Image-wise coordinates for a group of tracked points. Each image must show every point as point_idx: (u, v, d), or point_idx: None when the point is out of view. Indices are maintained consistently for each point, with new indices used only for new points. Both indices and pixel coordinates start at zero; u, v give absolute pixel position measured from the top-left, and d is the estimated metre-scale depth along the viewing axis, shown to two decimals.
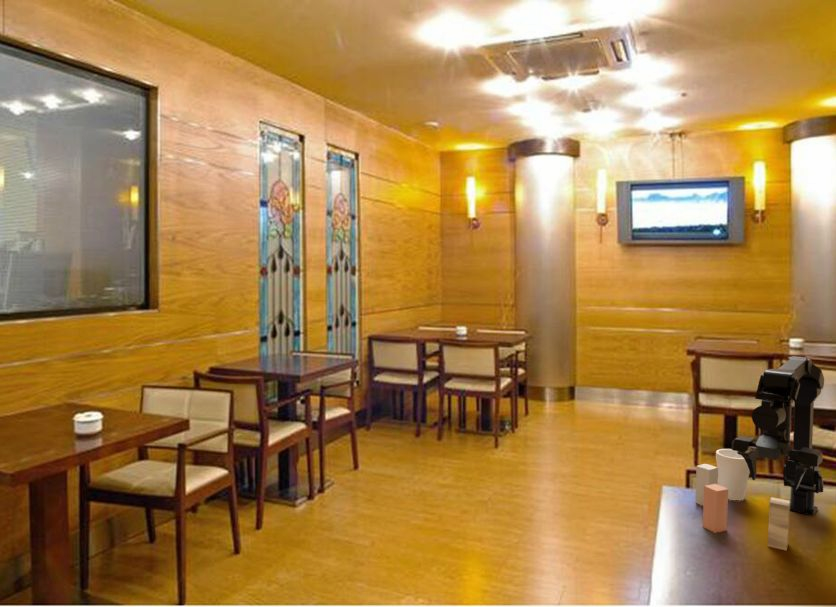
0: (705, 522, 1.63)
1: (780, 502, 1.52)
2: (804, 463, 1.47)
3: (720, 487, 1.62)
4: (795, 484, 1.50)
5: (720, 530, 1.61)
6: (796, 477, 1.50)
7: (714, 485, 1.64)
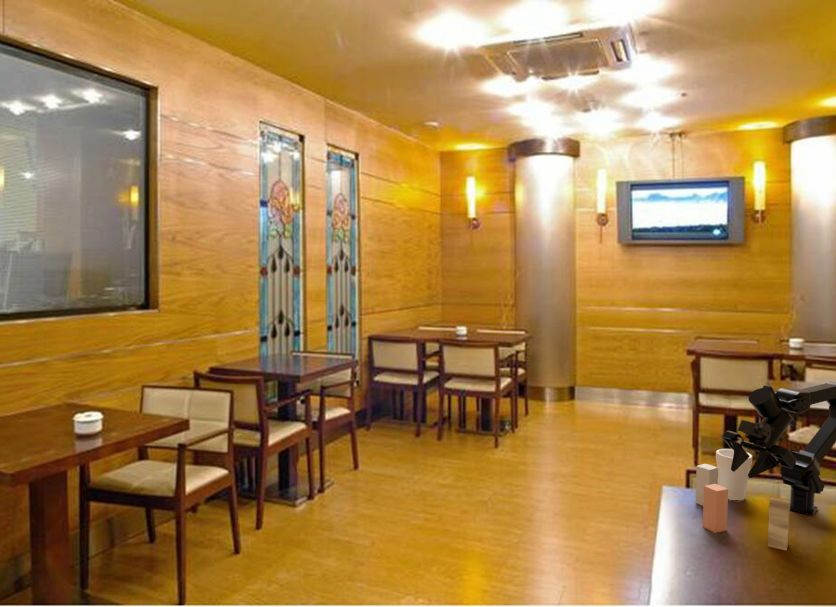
0: (705, 522, 1.63)
1: (780, 502, 1.52)
2: (774, 451, 1.59)
3: (720, 487, 1.62)
4: (751, 471, 1.62)
5: (720, 530, 1.61)
6: (754, 464, 1.63)
7: (714, 485, 1.64)
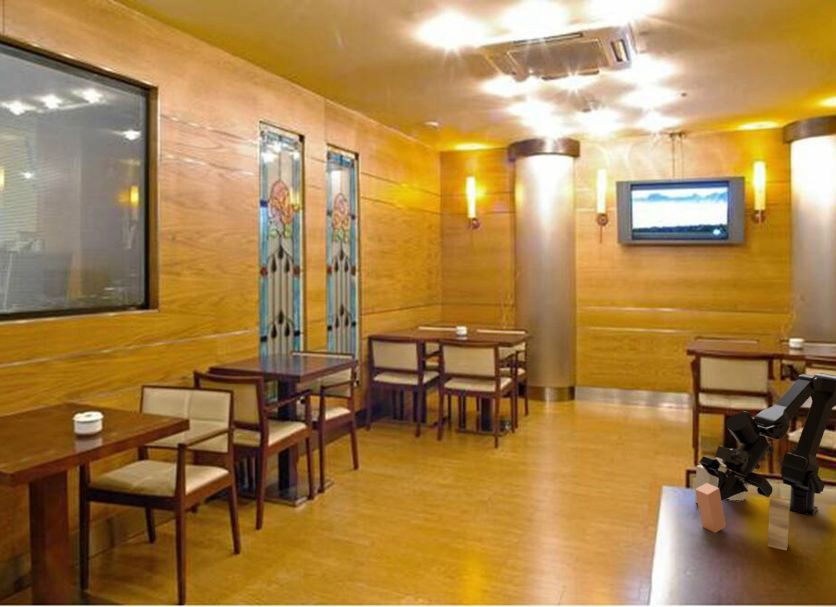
0: (704, 523, 1.63)
1: (780, 502, 1.52)
2: (750, 479, 1.57)
3: (711, 487, 1.61)
4: None
5: (720, 528, 1.61)
6: (723, 488, 1.62)
7: (705, 485, 1.62)
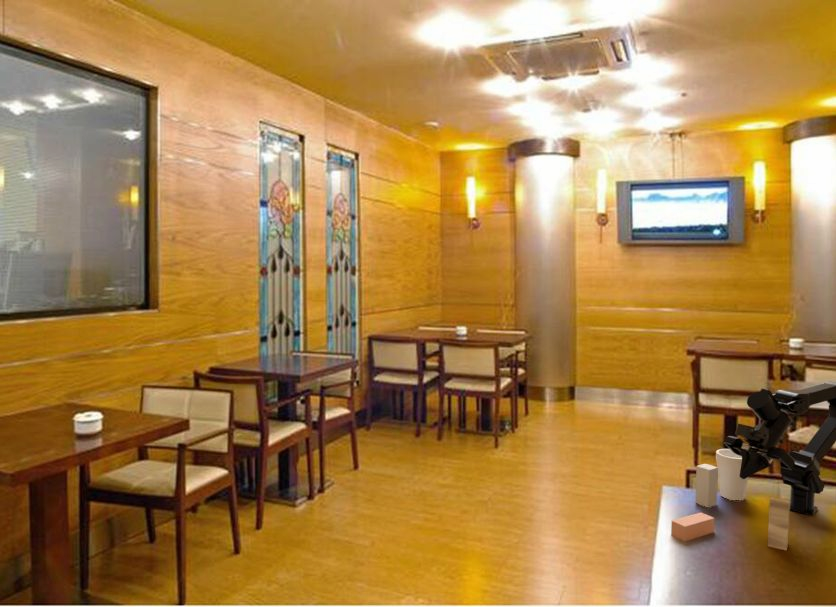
0: None
1: (780, 502, 1.52)
2: (770, 453, 1.60)
3: (679, 528, 1.57)
4: (743, 472, 1.65)
5: (713, 526, 1.61)
6: (746, 465, 1.65)
7: (674, 526, 1.58)
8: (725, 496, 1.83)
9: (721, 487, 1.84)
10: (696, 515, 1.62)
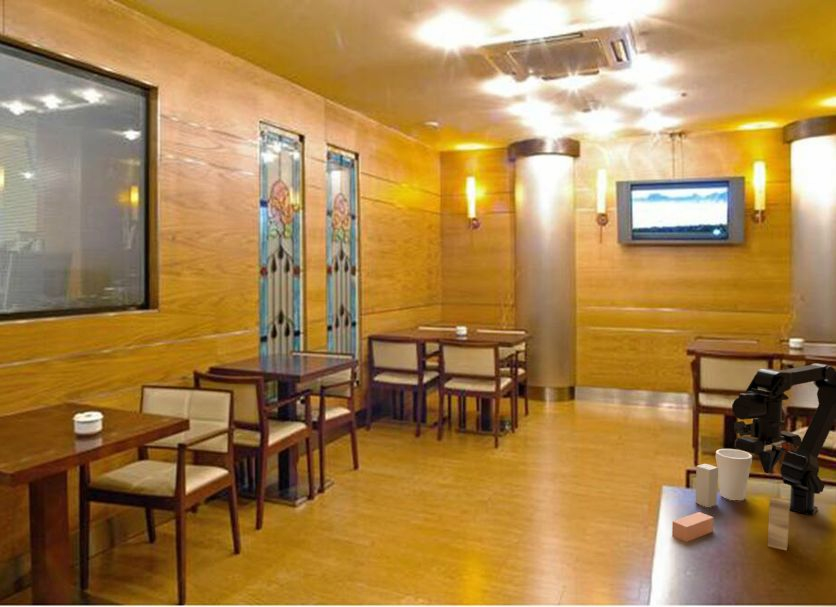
0: None
1: (780, 502, 1.52)
2: None
3: (681, 528, 1.57)
4: None
5: (712, 525, 1.61)
6: None
7: (675, 527, 1.58)
8: (725, 496, 1.83)
9: (721, 487, 1.84)
10: (695, 515, 1.62)
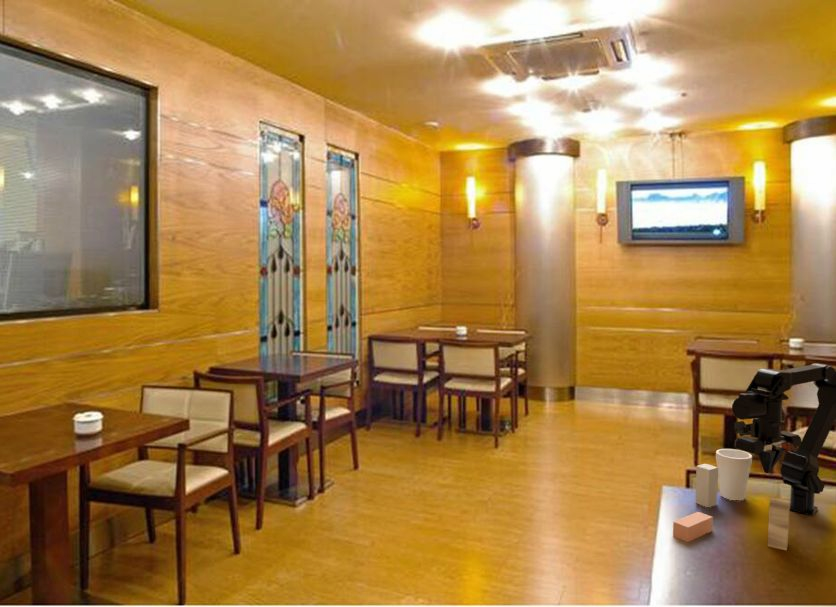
0: None
1: (780, 502, 1.52)
2: None
3: (682, 528, 1.56)
4: None
5: (711, 525, 1.61)
6: None
7: (676, 527, 1.58)
8: (725, 496, 1.83)
9: (721, 487, 1.84)
10: (694, 515, 1.62)
